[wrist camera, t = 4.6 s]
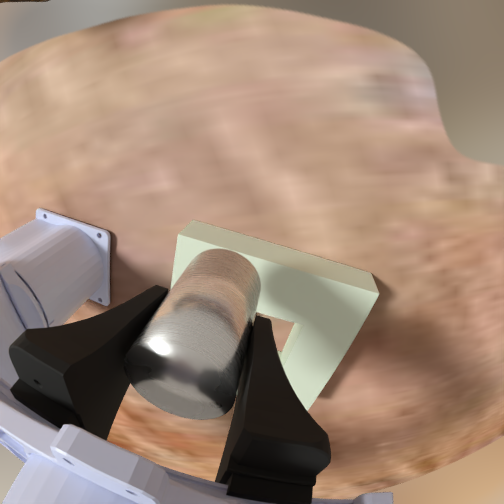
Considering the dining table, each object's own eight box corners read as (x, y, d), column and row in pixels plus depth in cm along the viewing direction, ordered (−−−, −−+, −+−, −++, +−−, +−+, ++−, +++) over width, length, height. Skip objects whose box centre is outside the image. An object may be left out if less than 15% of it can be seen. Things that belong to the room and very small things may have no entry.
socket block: (173, 350, 28) (162, 370, 25) (192, 219, 22) (178, 234, 19) (307, 388, 28) (307, 411, 25) (370, 272, 22) (379, 293, 19)
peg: (184, 305, 16) (130, 399, 10) (188, 241, 15) (117, 326, 8) (253, 322, 16) (228, 429, 10) (267, 258, 15) (243, 362, 8)
